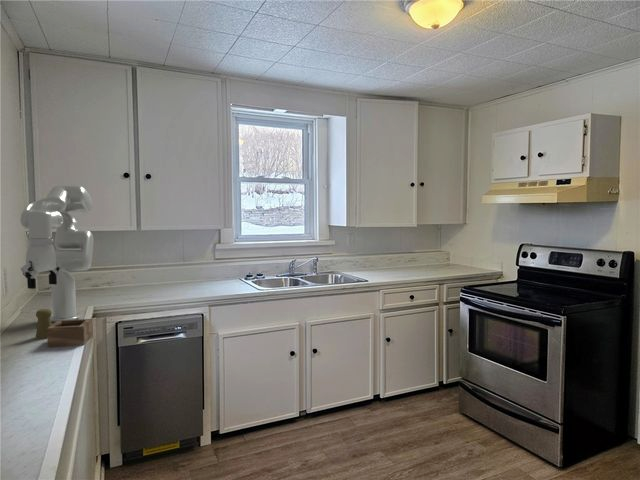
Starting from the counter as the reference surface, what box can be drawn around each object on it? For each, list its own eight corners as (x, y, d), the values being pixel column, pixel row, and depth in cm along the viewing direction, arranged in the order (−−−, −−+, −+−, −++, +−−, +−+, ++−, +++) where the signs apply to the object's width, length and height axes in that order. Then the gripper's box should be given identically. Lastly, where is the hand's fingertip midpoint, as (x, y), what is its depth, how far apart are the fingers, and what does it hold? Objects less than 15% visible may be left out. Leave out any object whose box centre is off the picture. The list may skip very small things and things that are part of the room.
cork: (56, 334, 175) (56, 307, 174) (48, 339, 168) (47, 311, 168) (41, 334, 174) (40, 307, 174) (32, 339, 168) (31, 311, 168)
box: (59, 337, 170) (58, 320, 169) (92, 336, 173) (92, 318, 172) (47, 347, 158) (47, 328, 158) (83, 345, 161) (83, 326, 161)
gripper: (51, 240, 178) (53, 282, 179) (12, 244, 161) (14, 289, 162) (66, 241, 176) (68, 283, 177) (29, 244, 159) (31, 290, 161)
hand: (42, 286), depth 170 cm, fingers open, 9 cm apart
